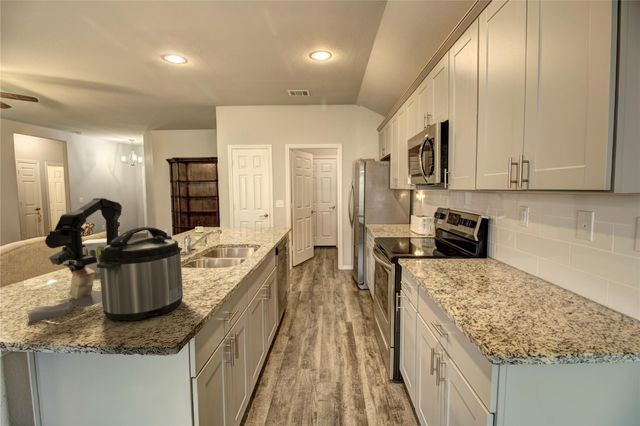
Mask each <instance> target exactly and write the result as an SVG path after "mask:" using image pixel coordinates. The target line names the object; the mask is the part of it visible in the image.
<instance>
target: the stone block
mask: <svg viewBox="0 0 640 426" xmlns="http://www.w3.org/2000/svg"><path fill="white" fill-rule="evenodd" d="M72 309H74V304H72V303H70V302H68V303H63V302H61V303H59V304H55V305H41V306H36V307H35V306H34V308H32V309H31V310H30V311H29V312H28V316H27V319H28V322H29V323H34V322H40V321H45V320H46V319H50V318H55V317H62V316H67V315H70V314H71V311H72Z"/></svg>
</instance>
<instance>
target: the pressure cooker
mask: <svg viewBox="0 0 640 426" xmlns="http://www.w3.org/2000/svg"><path fill="white" fill-rule="evenodd" d="M143 231H147V232H149V234H150V235H151V236H152V237H142V238H135V239H131V238H132V237H133V236H134V235H135V234H138V233H141V232H143ZM182 250H183V247H180V246H179V241H178V240H176V239H173V237H172V236H171V235H168V233H167V232H166V231H163V230H161V229H159V228H155V227H150V226H148V227H147V226H145V227H144V226H143V227H137V228H133V229H132V228H131V229H130V230H127V231H125V232H123V233H122V234H118V237H116V238H115V239H114V240H112V241H111V242H110V245H107V246H104V247H102V248H101V254H100V255H99V263H98V264H97V268H100V273H99V280H100V290H101V293H102V312H103V314H104V315H105V316H106V318H108V319H109V320H113V321H138V320H143V319H146V318H147V317H152V316H158V315H163V314H165V313H166V314H167V313H168V312H171V311H172V310H174V309H176V308H177V307H178V306H179V305H180V304H181V303H182V301H183V298H184V291H183V289H184V287H183V271H182V269H183V268H182Z"/></svg>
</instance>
